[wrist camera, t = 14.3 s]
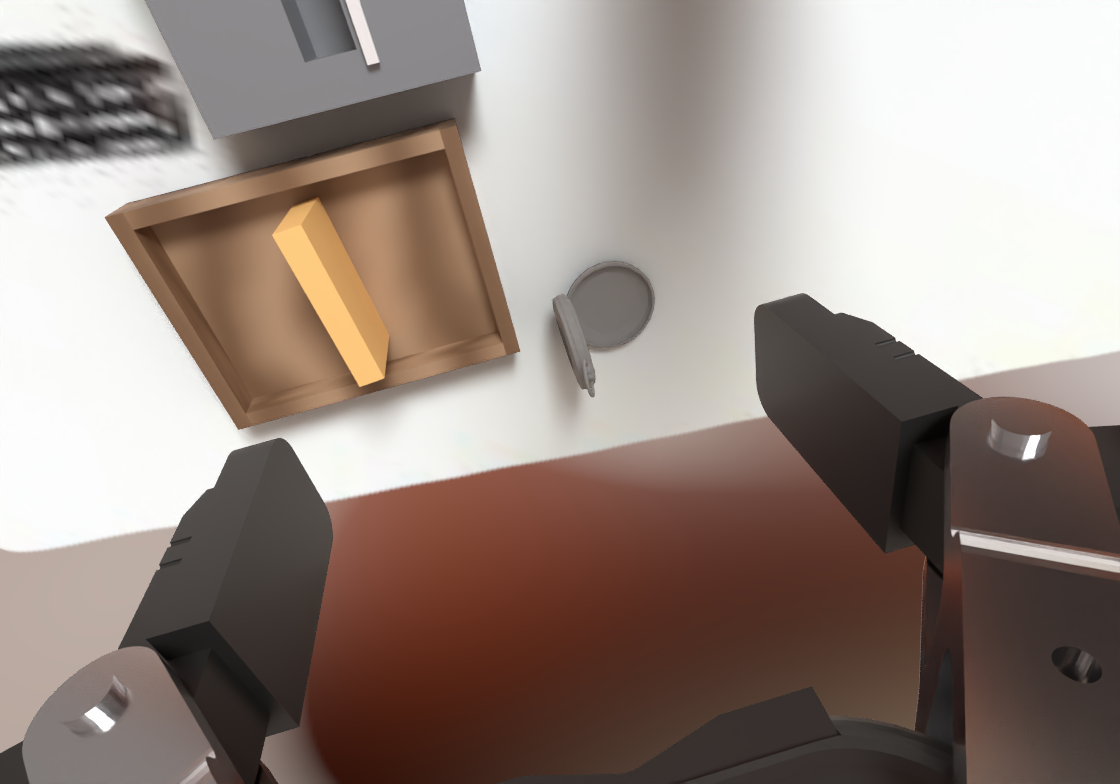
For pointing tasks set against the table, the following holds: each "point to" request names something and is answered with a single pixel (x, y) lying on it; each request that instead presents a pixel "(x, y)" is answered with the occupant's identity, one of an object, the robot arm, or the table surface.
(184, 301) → the tray
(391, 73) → the dispenser
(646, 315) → the pocket watch
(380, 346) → the yellow rectangular block
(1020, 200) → the table surface
